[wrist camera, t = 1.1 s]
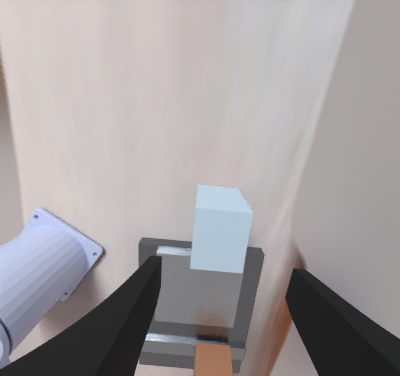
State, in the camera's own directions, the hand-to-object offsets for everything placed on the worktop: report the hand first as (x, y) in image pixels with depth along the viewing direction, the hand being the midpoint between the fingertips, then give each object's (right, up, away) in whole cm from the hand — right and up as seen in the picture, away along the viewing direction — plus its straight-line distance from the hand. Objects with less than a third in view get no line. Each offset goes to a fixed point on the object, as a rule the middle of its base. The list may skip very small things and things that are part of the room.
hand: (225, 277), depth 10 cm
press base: (-2, -10, +13) cm, 16 cm away
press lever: (0, -15, +12) cm, 20 cm away
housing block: (0, +3, +9) cm, 9 cm away
